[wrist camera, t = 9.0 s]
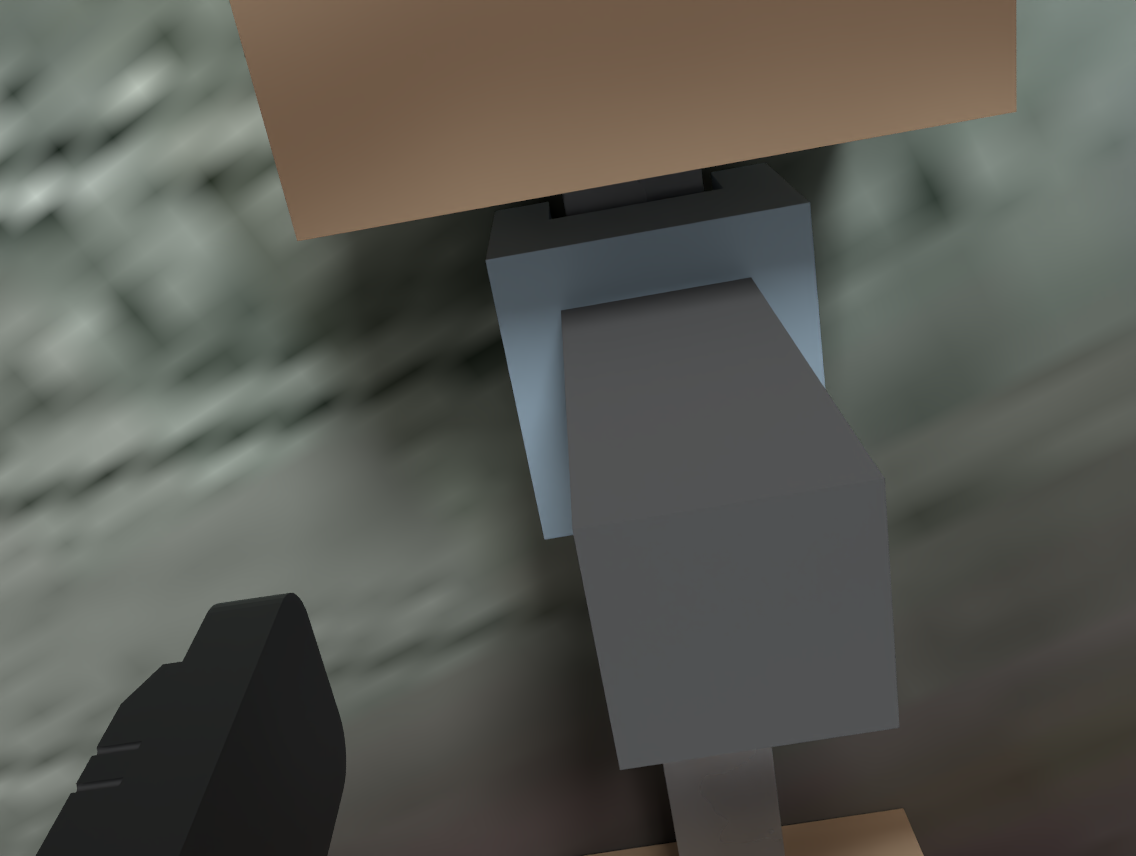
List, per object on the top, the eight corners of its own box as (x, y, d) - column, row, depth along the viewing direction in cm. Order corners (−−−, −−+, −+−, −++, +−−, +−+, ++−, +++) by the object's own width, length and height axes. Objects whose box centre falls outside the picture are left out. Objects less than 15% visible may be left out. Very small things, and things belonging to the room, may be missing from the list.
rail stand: (320, -84, 18) (197, -111, 12) (843, -186, 18) (1015, -272, 11) (588, 1020, 29) (601, 1315, 23) (913, 974, 29) (1018, 1262, 22)
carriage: (495, 211, 19) (447, 453, 10) (765, 162, 19) (989, 362, 10) (544, 453, 21) (544, 852, 12) (789, 412, 21) (995, 785, 12)
